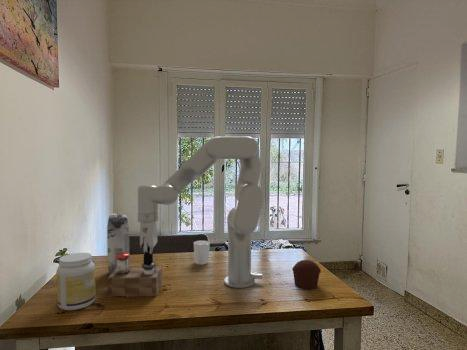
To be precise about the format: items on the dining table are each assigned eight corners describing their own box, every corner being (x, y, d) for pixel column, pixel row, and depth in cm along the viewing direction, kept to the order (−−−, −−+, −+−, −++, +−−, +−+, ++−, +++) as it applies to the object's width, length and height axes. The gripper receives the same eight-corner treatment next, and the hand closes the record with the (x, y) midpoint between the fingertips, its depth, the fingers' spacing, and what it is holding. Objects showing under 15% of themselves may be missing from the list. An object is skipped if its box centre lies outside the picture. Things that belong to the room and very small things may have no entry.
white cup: (209, 265, 156) (209, 244, 155) (192, 265, 156) (192, 244, 156) (210, 260, 164) (210, 240, 163) (194, 259, 164) (194, 240, 163)
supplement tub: (102, 297, 120) (101, 253, 119) (80, 313, 108) (78, 263, 107) (74, 294, 123) (73, 250, 122) (49, 309, 111) (47, 260, 110)
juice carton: (129, 268, 151) (128, 211, 149) (129, 276, 141) (128, 215, 139) (109, 270, 148) (107, 212, 146) (107, 279, 138) (106, 216, 136)
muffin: (311, 293, 124) (311, 268, 123) (286, 286, 131) (286, 261, 131) (325, 284, 133) (326, 260, 132) (301, 277, 140) (302, 255, 140)
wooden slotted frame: (117, 284, 133) (117, 267, 132) (161, 283, 133) (161, 266, 133) (107, 296, 121) (107, 278, 120) (156, 296, 121) (156, 277, 121)
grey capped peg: (156, 285, 130) (156, 261, 129) (154, 291, 125) (154, 265, 124) (143, 286, 130) (143, 261, 129) (140, 291, 124) (140, 265, 124)
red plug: (131, 276, 129) (131, 252, 129) (127, 282, 124) (127, 256, 123) (118, 277, 129) (117, 252, 128) (114, 282, 124) (113, 256, 123)
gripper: (153, 220, 118) (154, 270, 119) (161, 213, 133) (161, 257, 134) (133, 220, 118) (133, 270, 119) (142, 213, 133) (143, 257, 134)
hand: (148, 263), depth 127 cm, fingers closed
